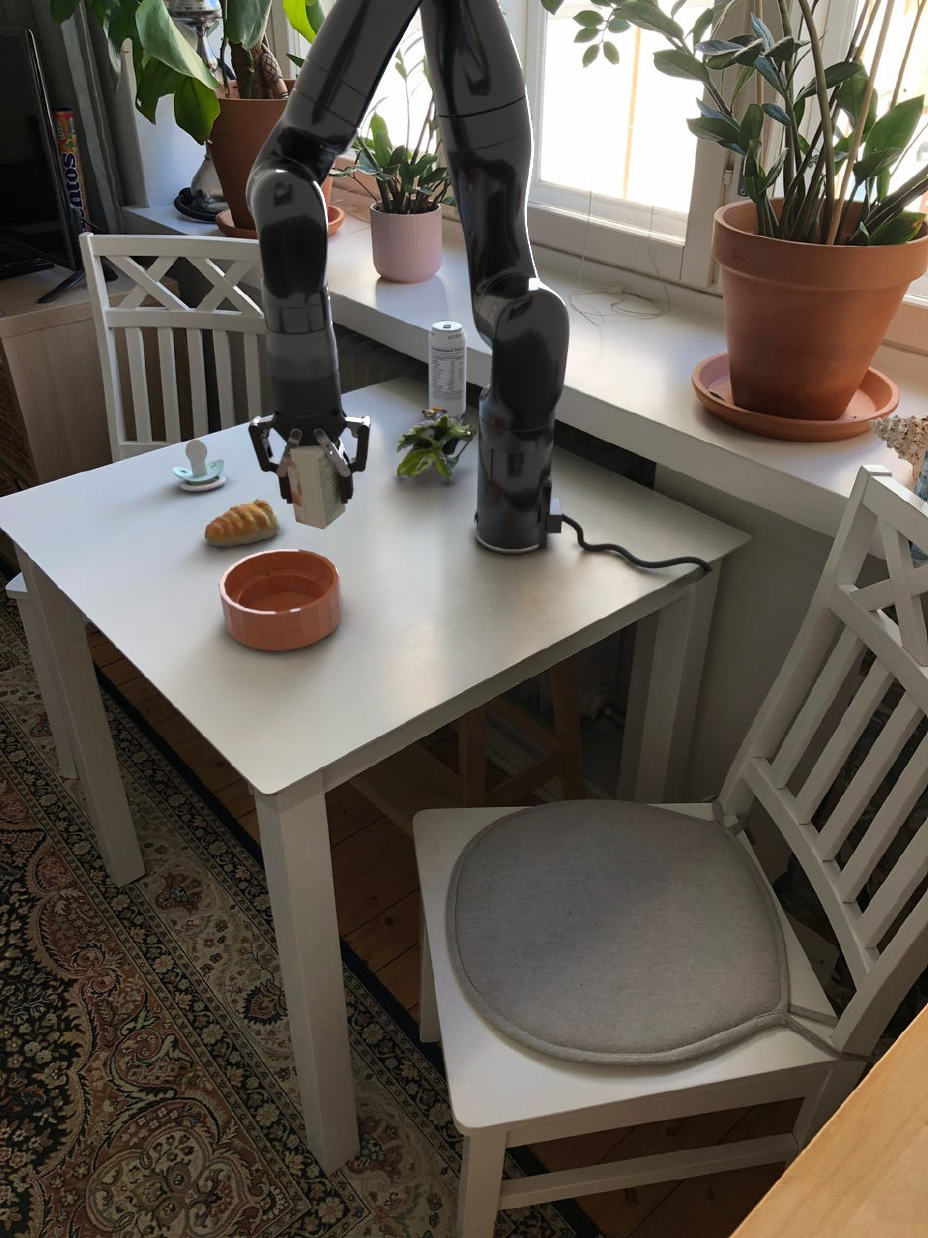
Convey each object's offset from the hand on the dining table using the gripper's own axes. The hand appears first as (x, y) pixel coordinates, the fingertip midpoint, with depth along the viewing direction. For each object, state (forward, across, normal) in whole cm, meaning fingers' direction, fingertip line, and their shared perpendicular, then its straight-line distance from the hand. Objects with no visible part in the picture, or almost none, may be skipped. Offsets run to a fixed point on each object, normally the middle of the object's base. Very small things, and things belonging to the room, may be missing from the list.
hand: (318, 500), depth 110 cm
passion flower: (+10, +14, +26) cm, 31 cm away
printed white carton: (+3, 0, 0) cm, 3 cm away
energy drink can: (+10, +14, +47) cm, 50 cm away
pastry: (+10, -12, +8) cm, 17 cm away
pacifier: (+10, -20, +22) cm, 31 cm away
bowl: (+9, -3, -11) cm, 15 cm away
